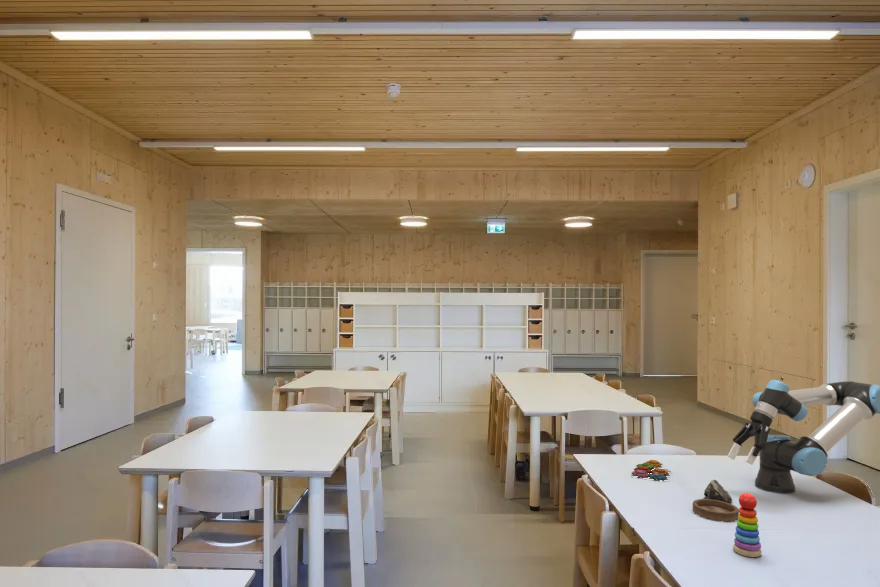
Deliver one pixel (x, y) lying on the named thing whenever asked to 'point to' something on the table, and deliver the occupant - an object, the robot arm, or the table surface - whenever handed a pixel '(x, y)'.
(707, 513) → the round tray
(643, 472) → the gear puzzle
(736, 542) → the stacking toy
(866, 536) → the table surface
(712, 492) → the grey brown rock
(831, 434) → the robot arm
